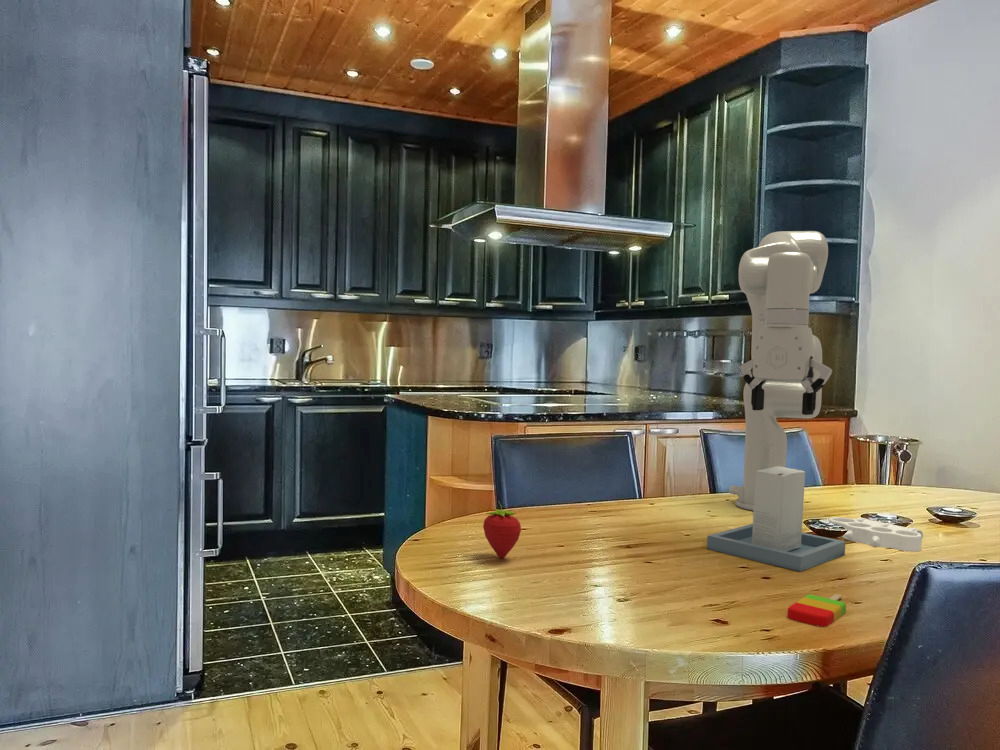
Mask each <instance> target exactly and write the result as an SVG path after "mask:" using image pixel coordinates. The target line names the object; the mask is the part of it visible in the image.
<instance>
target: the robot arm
mask: <svg viewBox="0 0 1000 750" xmlns="http://www.w3.org/2000/svg"><path fill="white" fill-rule="evenodd" d="M828 257H829V245H828V240H827V238H826V236H825V235H824V234H823V233H821V232H820V231H816V230H803V231H802V230H791V231H790V230H789V231H788V230H787V231H786V230H785V231H783V230H779V231H773V232H770V233H768V234H767V235H765V236H764V237H763V238H762V239H761V240H760V242H759V244H758V246H757V247H755V248H751V249H748V250H747V251H744V253H743V255H742V256H741V258H740V261H739V265H738V284H739V288H740V290H741V292H743V293H744V294H745V296H746V298H747V299H746V300H747V301H748V305H749V307H750V311H751V316H752V317H751V318H752V322H751V323H752V325H751V345H750V348H751V349H750V351H751V352H750V353H751V355H750V356H751V359H750V360H748V361H746V362H745V363H742V364H740V365H739V370H740V372H741V374H742V376H743V380H744V381H745V382H746V383H745V384H744V387H743V394H742V395H743V404H744V405H743V406H744V416H745V417H744V418H745V429H744V430H745V432H744V433H745V437H744V438H745V439H744V458H743V478H742V479H743V481H742V482H743V483H742V485H740V486H739V485H738V486H737V485H732V484H731V485H730V486H729V490H728V493H729V494H731V495H737V496H738V498H737V499H736V500H735V505H736V506H737V507H739V508H741V509H743V510H747V511H753V512H754V496H755V477H756V471H758V470H763V469H768V468H772V467H777V466H780V467H785V468H787V467H786V466H787V451H788V450H787V449H788V437H787V434H786V430H785V429H784V428H783V427H782V426H781V425H780V423H779V422H778V421H777V419H778V418H780V419H781V418H788V419H789V418H791V419H814V418H815V417H817V416H818V415H819V414H820V411H821V407H822V393H823V391H822V390H823V387H824V386H825V385H826V384H827V381H829V378H830V377H831V375H832V373H833V369H832V368H831V367H829V366H827V365H825V364H824V363H823V349H822V343H821V340H820V339H819V338H818V336H816V335H815V334H813V330H812V327H809V317H810V316H809V315H810V314H809V313H810V311H809V310H810V294H815V292H817V291H818V290H819V289H820V287H821V284H822V282H823V278H824V273H825V270H826V266H827V263H828Z"/></svg>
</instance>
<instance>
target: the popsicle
mask: <svg viewBox="0 0 1000 750" xmlns="http://www.w3.org/2000/svg"><path fill="white" fill-rule="evenodd" d="M842 597H843V595H842V594H838V593H835V594H833V595H832V596H831V597H829V598H828V597H823V596H819V595H815V594H810V593H808V594H806V595H804V596H803V597H802V598H800V599H799V600H797V601H796V602H794V603H793V604H791V605H790V606H789V607H788V608H787V618H788V619H790V620H792V619H793V620H792V621H795V620H797V621H796V622H799V621H800V622H799V623H803V622H805V623H804V624H807V623H809V624H808V625H811V624H813V625H812V626H815V625H819V626H818V627H820V626H826V627H828V626H827V625H829V624H830V625H831V624H832V622H833V623H835V621H837V620H838V619H839V618H840V617H842V616H843V615H845V614H846V611H847V605H846V602H844V601H842V600H840V599H842ZM841 615H842V616H841ZM837 618H838V619H837ZM830 625H829V626H830Z"/></svg>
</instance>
